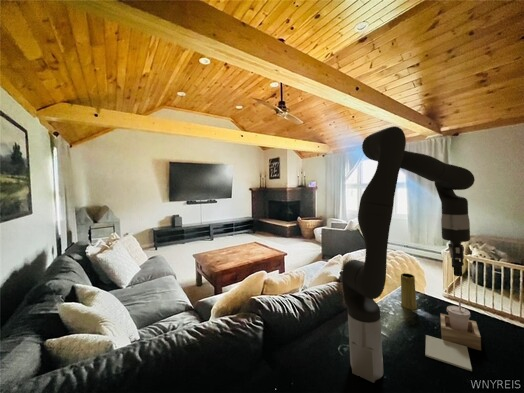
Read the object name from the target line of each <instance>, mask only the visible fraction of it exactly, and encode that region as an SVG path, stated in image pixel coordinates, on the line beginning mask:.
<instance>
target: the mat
mask: <svg viewBox="0 0 524 393" xmlns="http://www.w3.org/2000/svg"><path fill="white" fill-rule="evenodd" d="M468 350H469V349H468V347H467V346H463V345H459V344H456V343H452V342H449V341H445V340H442V338H437V337H434V336H431V335H427V334H425V352H424V353H425V355H424V356H425V357H427V358H430V359H433V360H436V361H439V362H443V363H444V364H448V365H452V366H454V367H457V368H460V369H463V370H466V371H470V372H473V367H472V364H471V363H472V362H471V359H470V358H471V357H470V354H469V351H468Z"/></svg>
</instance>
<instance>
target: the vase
mask: <svg viewBox="0 0 524 393" xmlns="http://www.w3.org/2000/svg"><path fill="white" fill-rule="evenodd" d="M415 278H416V277H415V275H414V274H412V273H406V272H404V273H401V274H400V298H401V303H400V306H401V307H403V308H404V309H406V310H410V311H411V310H412V311H413V310H416V309H418V304H417V294H416V280H415Z"/></svg>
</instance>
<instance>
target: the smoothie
mask: <svg viewBox="0 0 524 393" xmlns="http://www.w3.org/2000/svg"><path fill="white" fill-rule="evenodd" d="M446 312H447V313H448V314H447V315H449V319H450V324H451V328H454V329H457V330H461V331H465V332H467V330H468V323H469V320H470V318H471V312H470V311H469V310H468V309H467V308H464V307H462V298H460V297H458V306H457V305H448V306H447V307H446Z"/></svg>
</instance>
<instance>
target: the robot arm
mask: <svg viewBox="0 0 524 393" xmlns="http://www.w3.org/2000/svg"><path fill="white" fill-rule="evenodd" d="M406 138H407V137H406V134H405V133H404V130H403V129H402V128H400V127H399V126H397V125H395V126H394V125H393V126H389V127H385V128H383V129H381V130H378V131H376V132H373V133H371V134H369V135H367V136H366V137H365V138H364V140H363V142H362V145H361V146H362V148H361V149H362V153H363V155H365V157H366V158H367V159H370V160H371V161H374V162H377V165H376V169H375V172H374V174H373V176H372V178H371V179H370V181H369V182H368V184H367V186H365V189H364V191H363V192H362V194H361V196H360V201H359V205H358V213H357V221H358V222H357V223H358V226H359V228H360V232H361V235H362V239H363V240H364V244H365V258H364V261H362V260H359V259H349V260H348V261H347V262H346V263H345V264H344V267H343V269H342V272H341V274H342V275H341V280H342V282H341V283H342V290H343V300H344V304H345V306H346V308H347V323H348V325H347V326H348V342H349V361H350V367H351V372H352V374H353V375H355V376H357V377H359V376H360V378H363V379H364V380H366V381H369V382H371V383H375V382H376V381H377V380H380V379H381V378H382V377H383V375H384V360H383V340H382V320H381V317H382V316H381V309H380V306H379V305H378V303H377V302H376V301H375V300H376V299H378V298H379V297H380V296H381V295H382V293H383V291H384V289H385V285H386V281H387V280H386V279H387V263H388V261H387V258H388V244H389V236H390V227H391V223H392V216H393V212H394V211H393V210H394V202H395V194H396V190H397V183H398V180H399V173H400V170H401V169H402V170H405V171H407V172H411V173H413V174H415V175H416V176H419V177H421V178H422V179H425V180H427V181H430V182H432V183H433V182H434V186H435V189H436V191H437V194H438V196H439V200H440V202H441V218H440V220H441V221H440V224H441V238H442V240H445V241H448V242H449V243H448V244H447V245H448V250H449V256H450V259H451V267H452V268H453V275H454V276H455V277H463V266H464V265H465V263H464V258H465V255H464V254H465V253H464V251H465V246H464V244H462V243H465V242H466V243H467V242H470V241H471V229H470V228H471V224H470V222H471V221H470V218H469V200H468V199H467V198H466V197H464V196H460V195H457V194H456V193H455V191H465V190H467V189H469V188H471V187H473V185H474V183H475V175H474V174H473V172H472V171H470V170H469V169H467V168H465V167H462V166H458V165H454V164H449V163H445V162H443V161H442V160H439V159H438V158H436V157H434V156H431V155H428V154H425V153H420V152H413V151H409V150H406V146H407V140H406Z"/></svg>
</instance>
